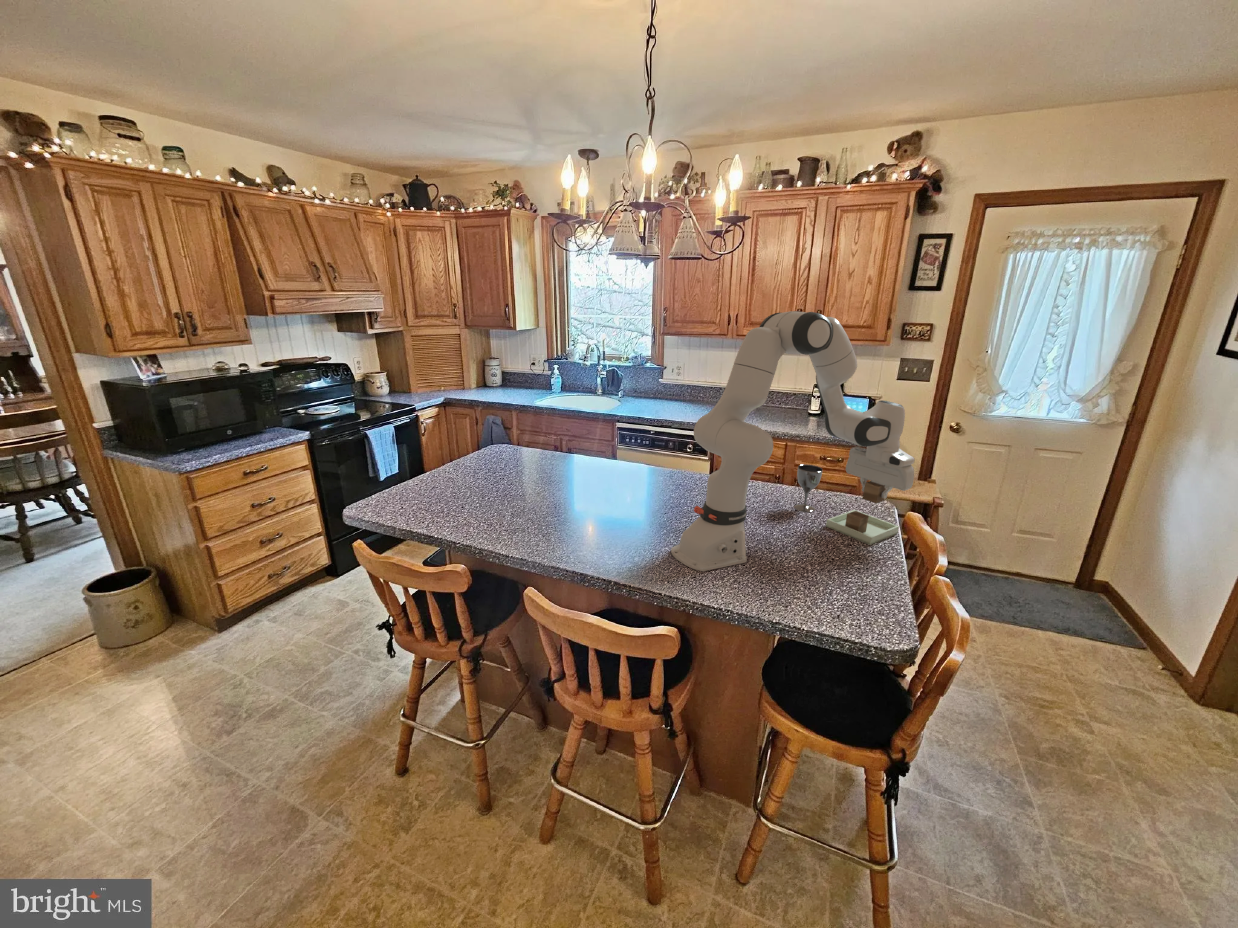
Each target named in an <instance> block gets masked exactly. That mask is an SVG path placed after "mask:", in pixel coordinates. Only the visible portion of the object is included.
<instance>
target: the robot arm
mask: <svg viewBox="0 0 1238 928" xmlns="http://www.w3.org/2000/svg"><path fill="white" fill-rule="evenodd" d="M784 354H786V355H787V354H788V355H806V356H808V357H809V359H810V361H811V363H812V366H813V370H814V372H815V382H816V388H817V390H818V394H819V397H820V401H821V403H822V406H823V410H824V423H825V425H824V426H825V430H826V432H827V433H828V434H829V435H830V436H831V437H834V438H838V439H841V440H844V441H845V442H846V441H847V442H849V443H851V444H854V445H857V446H852V447H851V448H850V450H849V454H848V459H847V462H846V465H845V471H846V474H849V475H852V476H855V477H858V478H860V479H859V481H860V484H861V487H862V488H861V491H862V492H863V493H864V488H865V483H866V482H868V481H874V482H877V483H880V484H883V485H885V488H886V490H885V491H882V492H880V497H881V498H884V499H887V498H888V493H890V491H891V490H893V489H896V490H900V491H903V492H905V491H907V490H911V488H912V487H913V484H914V480H915V478H914V477H915V468H914V466H913V464H914V463H915V457H914V456H912V455H910V454H908V453H907V452H905V451H904V450H903V449H901V448H900V447H901V441H900V439H901V436H902V434H903V430H904V427H905V421H906V420H905V418H906V412H905V411H906V410H905V407H904V406H903V405H902V404H900V403H896V402H895V401H894V402H893V401H888V400H878V401H877V402H876V404H875V405H874V406H873V407H871V408H870V409H867V410H865V411H859V410H856V409H854V408H852V407H850V406H849V405H848V404H847V403H846V401H845V397H844V394H843V391H842V387H841V385H842V384H844V383H846V382H847V381H849V380H850V379H851V378H852V377H853V376H854V374H855V373H856V370H857V368H858V359H857V356H856V353H855V350H854V348H853V345H852V343H851V340H850V337H849V336H848V334H847V332H846V331H845V329H844V327H843V325H842V324H841V323H840V321H839V320H838V319H837V318H835V317H833V316H825V315H823V314H821V313H819V312H815V311H807V312H806V311H798V310H796V311H795V310H791V311H784V312H776V313H772V314H770V315H768V316H767V317H766V318H764V319H763V320H762V322H761V323H760V325H759V326H758V327H754V328H752V329H750V330H749V331H748V332H747V334H746V335H745V336H744V339H743V340H742V343H741V345H740V346H739V349H738V351H737V354H736V356H735V359H734V362H733V365H732V368H731V372H730V374H729V377H728V380H727V383H726V385H725V388H724V391H723V393H722V394H721V397H720V398H719V400H718V401H717V402H716V404H715V405H714V407H713V408H712V409H711V410H710V411H709V412H708V413H706V414H703V416H701V417H699V418H698V420H697V421H696V423H695V424H694V427H693V438H694V440H695V442H696V443H697V444H698V445H699V446H700V447H702V448H703V449H704V450H705V451H707V452H709V453H712V454H714V455H716V456H719V457H721V463H720V466H719V468H718V470H715V471H713V472H712V473H711V474H710V475H709V476H708V477H707V483H706V484H707V485H706V496H705V497H706V498H705V501H704V503H703V506H702V507H701V506H699V505H695V507H694V508H693V512H694V513H695V514H698V515H699V517H697V519H696V520H695V521H693V522H692V523H691V524H690V525H689V526H688V527H687V528H686V529H685V530H684V531H682V534H681V536H680V541H679V543H678V544H677V545H674V546H673V547H671V549H670V552H671V555H672V556H673V557H674V559H675V560H676V561H678V562H680V563H681V564H682V565H685V566H686V567H689V568H691V569H693V570H696V571H700V572H706V571H711V570H716V569H720V568H725V567H730V566H734V565H740V564H745V563H747V562H748V560H747V559H748V557H747V547H746V531H745V530H746V528H745V521H746V519H747V505H746V503H747V495H748V489H749V488H748V486H749V483H750V480H751V478H752V475H753V473H754V472H755V471H756V470H757V468H759V467H761V466H763V465H764V464H766V463H767V461H769V459H770V458H771V456H772V453H773V451H774V440H773V437H772V436H771V434H770V433H769V432H767V431H766V430H764V429H763V428H761V427H759V426H758V425H755V424H752V423H749V422H746V419H747V417H748V416H749V414H751V413H752V412H753V411H754V410H755V409H757V408H760V407H761V406H763V405H764V404H765V403H766V401H767V399H768V395H769V392H770V389H771V386H772V384H773V380H774V378H775V375H776V371H777V367H778V363H779V360H780V359H781V357H782V356H783V355H784ZM865 447H866V448H865Z"/></svg>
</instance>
